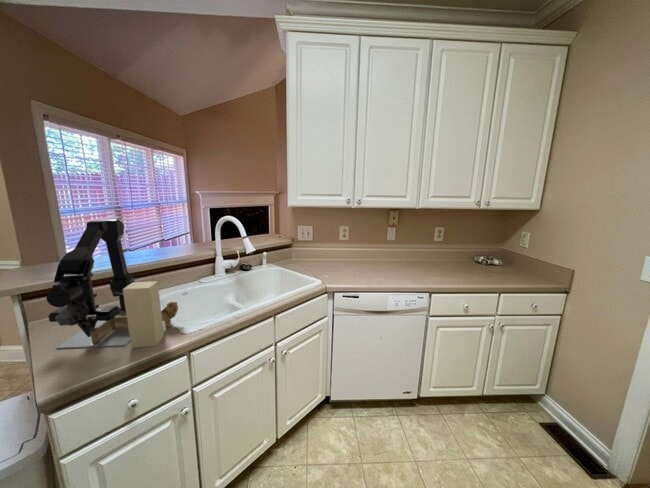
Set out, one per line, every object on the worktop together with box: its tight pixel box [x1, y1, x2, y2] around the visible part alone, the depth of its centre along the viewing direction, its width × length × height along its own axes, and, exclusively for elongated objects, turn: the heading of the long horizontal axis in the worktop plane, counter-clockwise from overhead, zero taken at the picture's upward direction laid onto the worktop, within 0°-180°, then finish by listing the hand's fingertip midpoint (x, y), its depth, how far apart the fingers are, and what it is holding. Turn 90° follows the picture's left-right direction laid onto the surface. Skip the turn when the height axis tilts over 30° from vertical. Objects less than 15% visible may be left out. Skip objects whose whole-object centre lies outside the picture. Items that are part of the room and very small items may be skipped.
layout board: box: [56, 321, 131, 350], centre depth 99 cm, size 18×22×1 cm
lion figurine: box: [161, 301, 179, 328], centre depth 101 cm, size 15×5×9 cm, turn 139°
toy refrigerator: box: [123, 280, 165, 349], centre depth 92 cm, size 8×7×21 cm
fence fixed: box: [110, 315, 129, 331], centre depth 100 cm, size 2×11×6 cm, turn 95°
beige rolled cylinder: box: [90, 320, 112, 345], centre depth 94 cm, size 2×9×5 cm, turn 8°
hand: (89, 336), depth 92 cm, fingers closed
